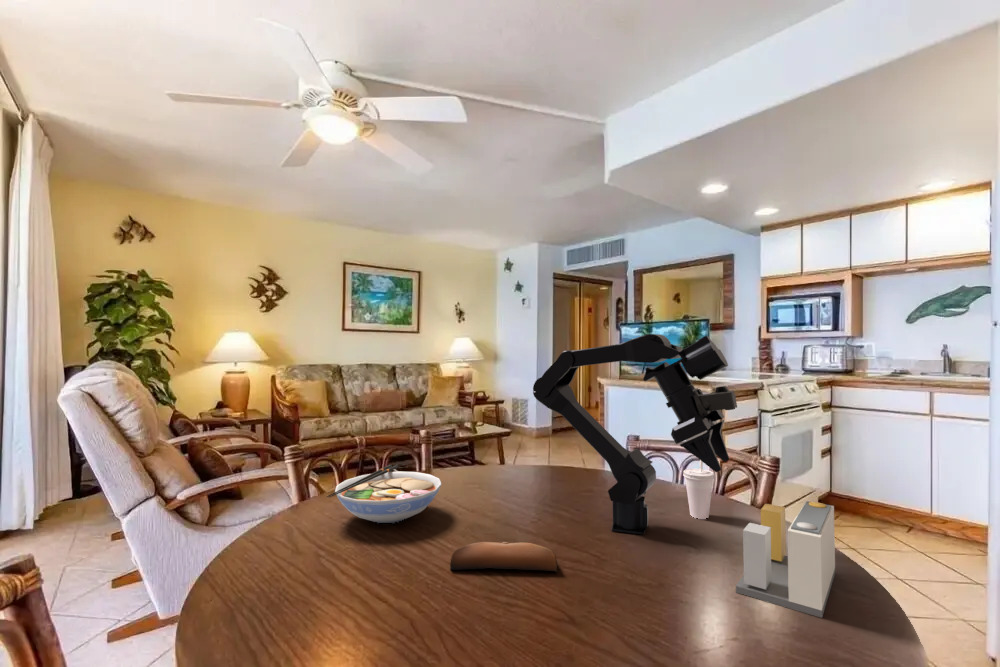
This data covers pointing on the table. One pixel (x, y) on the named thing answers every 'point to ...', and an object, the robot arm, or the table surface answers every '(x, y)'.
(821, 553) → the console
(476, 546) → the sunglasses case
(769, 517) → the amber block
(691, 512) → the smoothie
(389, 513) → the ramen bowl
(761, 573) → the light grey block
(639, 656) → the table surface
